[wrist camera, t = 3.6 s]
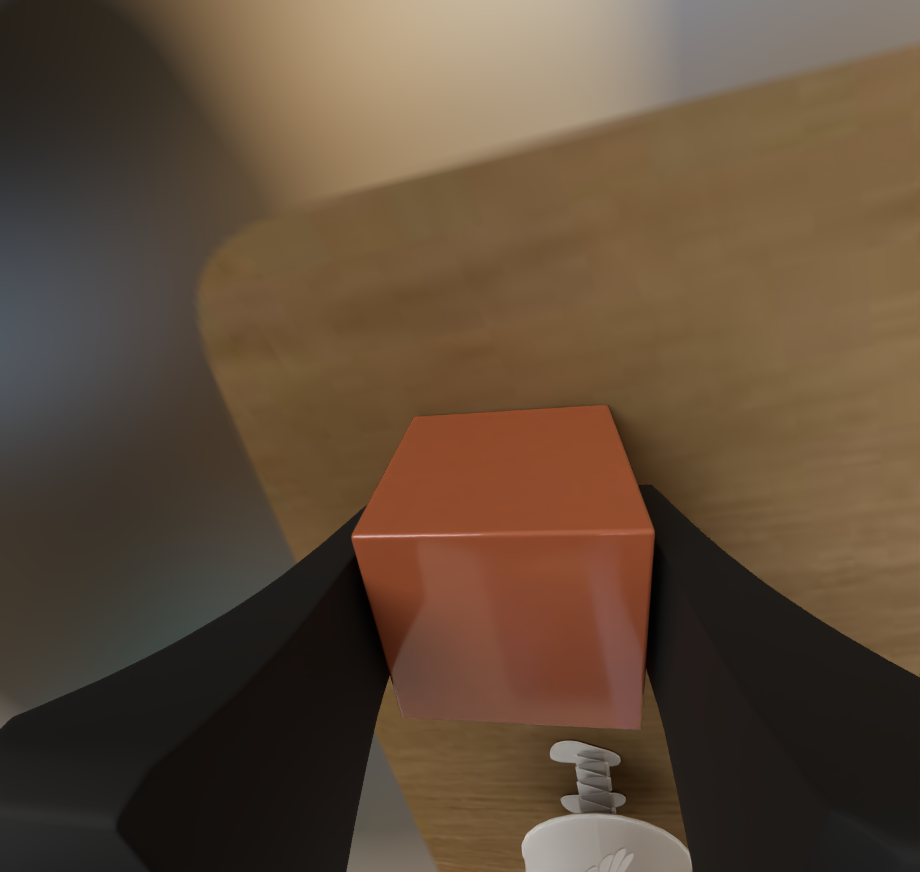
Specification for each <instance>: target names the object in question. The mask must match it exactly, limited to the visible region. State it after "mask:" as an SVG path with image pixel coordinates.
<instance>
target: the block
mask: <svg viewBox="0 0 920 872" xmlns="http://www.w3.org/2000/svg"><path fill="white" fill-rule="evenodd" d="M351 539H352V543H353V547H354V550H355V554H356V557H357V561H358V564H359V568H360V571H361V575H362V578H363V582H364V585H365V589H366V592H367V596H368V599H369V603H370V606H371V610H372V613H373V617H374V620H375V624H376V627H377V631H378V634H379V638H380V641H381V645H382V648H383V652H384V655H385V659H386V662H387V666H388V669H389V673H390V676H391V680H392V683H393V687H394V690H395V694H396V697H397V701H398V705H399V708H400V712H401V715H402V716H403V717H404V718H418V719H437V720H456V721H475V722H494V723H513V724H532V725H551V726H570V727H588V728H607V729H626V730H639V729H641V727H642V716H643V702H644V687H645V673H646V659H647V645H648V630H649V616H650V602H651V587H652V573H653V559H654V545H655V530H654V527H653V524H652V522H651V519H650V516H649V513H648V511H647V508H646V505H645V503H644V500H643V497H642V495H641V492H640V489H639V487H638V484H637V481H636V479H635V476H634V473H633V470H632V468H631V465H630V462H629V460H628V457H627V454H626V452H625V449H624V446H623V444H622V441H621V438H620V436H619V433H618V430H617V427H616V425H615V422H614V419H613V417H612V414H611V411H610V409H609V406H608V405H593V406H577V407H561V408H545V409H529V410H513V411H497V412H481V413H465V414H449V415H433V416H417V417H414V418H413V419H412V421H411V423H410V424H409V426H408V428H407V430H406V432H405V434H404V436H403V438H402V440H401V442H400V444H399V445H398V447H397V449H396V451H395V453H394V455H393V457H392V459H391V461H390V463H389V464H388V466H387V468H386V470H385V472H384V474H383V476H382V478H381V480H380V482H379V483H378V485H377V487H376V489H375V491H374V493H373V495H372V497H371V499H370V501H369V502H368V504H367V506H366V508H365V510H364V512H363V514H362V516H361V518H360V520H359V521H358V523H357V525H356V527H355V529H354V531H353V533H352V536H351Z"/></svg>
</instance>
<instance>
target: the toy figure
mask: <svg viewBox="0 0 920 872" xmlns="http://www.w3.org/2000/svg"><path fill="white" fill-rule="evenodd" d="M550 757H551V759H553V760H555V761H558V762H565V763H576V766H577V767H575V769H576V773H577V778H578V782H577V787H578V792H579V795H567V796H563V797H561V803H562V805H563V806H564V807H565V808H566V809H567V810H569V811H571V812H574V814H569V815H564V816H559V817H554V818H551V819H549V820H547V821H544V822H542V823H540V824H538V825H537V826H535V827H534V828H533V829H532V830H531V831H529V832H528V833H527V834H526V836H525V838H524V840H523V842H522V855H523V857H524V859H525V866H526V872H692V863H691V858H690V852H689V851H688V849H687V848H686V847H685V846H684V845H683V844H682V843H681V841H680V840H679V839H677V838H676V837H674V836H673V835H671V834H670V833H668V832H667V831H665V830H664V829H662V828H660V827H657V826H655V825H652V824H650V823H648V822H645V821H643V820H639V819H635V818H630V817H626V816H622V815H616V807H618V806H621V805H623V804H624V803H625V802H626V797H625V796H623V795H622V794H619V793H610V792H609V791H612V784H611V778H610V777H607V776H610V770H609V766H611V767H612V766H617V765H619V763H620V762H621V760H620V757H619V756H618V755H617V754H616V753H614V752H611V751H609V750H606V749H602V748H598V747H594V746H591V745H588V744H584V743H581V742H578V741H571V740H569V741H561V742H557V743H555V744H554V745H553V746H552V748H551V749H550Z"/></svg>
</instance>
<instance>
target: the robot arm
mask: <svg viewBox="0 0 920 872" xmlns="http://www.w3.org/2000/svg"><path fill="white" fill-rule="evenodd" d="M638 487H639V489H640V492H641V495H642V497H643V500H644V503H645V505H646V508H647V511H648V513H649V516H650V519H651V522H652V524H653V527H654V530H655V545H654V559H653V573H652V587H651V602H650V616H649V630H648V645H647V659H646V669H647V673H648V676H649V679H650V682H651V686H652V689H653V692H654V695H655V698H656V702H657V705H658V708H659V712H660V716H661V720H662V723H663V727H664V731H665V735H666V740H667V745H668V749H669V754H670V759H671V764H672V768H673V773H674V778H675V783H676V787H677V792H678V797H679V802H680V807H681V812H682V817H683V822H684V827H685V832H686V837H687V842H688V847H689V852H690V858H691V863H692V868H693V872H920V677H918V676H916V675H914V674H912V673H910V672H909V671H907V670H905V669H903V668H901V667H899V666H897V665H896V664H894V663H892V662H890V661H888V660H887V659H885V658H883V657H881V656H880V655H878V654H876V653H875V652H873V651H871V650H869V649H868V648H866V647H864V646H862V645H861V644H859V643H857V642H856V641H854V640H852V639H850V638H849V637H847V636H845V635H844V634H842V633H840V632H838V631H837V630H835V629H834V628H832V627H830V626H829V625H827V624H826V623H824V622H822V621H821V620H819V619H818V618H816V617H814V616H813V615H811V614H810V613H808V612H807V611H805V610H804V609H802V608H801V607H799V606H798V605H796V604H795V603H793V602H792V601H790V600H789V599H787V598H786V597H784V596H783V595H781V594H780V593H778V592H777V591H776V590H774V589H773V588H771V587H770V586H769V585H767V584H766V583H764V582H763V581H762V580H760V579H759V578H758V577H756V576H755V575H754V574H753V573H751V572H750V571H749V570H747V569H746V568H745V567H743V566H742V565H741V564H740V563H738V562H737V561H736V560H734V559H733V558H732V557H731V556H729V555H728V554H727V553H726V552H725V551H723V550H722V549H721V548H720V547H719V546H717V545H716V544H715V543H714V542H713V541H712V540H711V539H709V538H708V537H707V536H706V535H705V534H704V533H703V532H701V531H700V530H699V529H698V528H697V527H696V526H695V525H694V524H693V523H691V522H690V521H689V520H688V519H687V518H686V517H685V516H684V515H683V514H682V513H681V512H680V511H679V510H678V509H677V508H675V507H674V506H673V505H672V504H671V503H670V502H669V501H668V500H667V499H666V498H665V497H664V496H663V495H662V494H661V493H660V492H659V491H658V490H657V489H655V488H654V487H653V486H652V485H638ZM366 506H367V505H366ZM366 506H365V507H364V508H363V509H361V510H360V511H359V512H358V513H357V514H356V515H355V516H354V517H352V518H351V519H350V520H349V521H348V522H347V523H346V524H344V525H343V526H342V527H341V528H340V529H339V530H337V531H336V532H335V533H334V534H333V535H332V536H330V537H329V538H328V539H327V540H326V541H325V542H323V543H322V544H321V545H320V546H319V547H317V548H316V549H315V550H314V551H312V552H311V553H310V554H309V555H307V556H306V557H305V558H304V559H302V560H301V561H300V562H298V563H297V564H296V565H295V566H293V567H292V568H291V569H290V570H288V571H287V572H286V573H285V574H284V575H282V576H281V577H279V578H278V579H276V580H275V581H274V582H272V583H271V584H269V585H268V586H267V587H265V588H264V589H262V590H261V591H259V592H258V593H256V594H255V595H253V596H252V597H250V598H249V599H247V600H246V601H245V602H243V603H241V604H240V605H238V606H237V607H235V608H234V609H232V610H230V611H229V612H227V613H225V614H224V615H222V616H220V617H219V618H217V619H215V620H213V621H212V622H210V623H208V624H207V625H205V626H203V627H202V628H200V629H198V630H196V631H194V632H193V633H191V634H190V635H188V636H186V637H184V638H182V639H181V640H179V641H177V642H175V643H173V644H171V645H170V646H168V647H166V648H164V649H162V650H160V651H158V652H156V653H154V654H152V655H150V656H148V657H146V658H145V659H142V660H140V661H138V662H136V663H134V664H132V665H130V666H128V667H126V668H124V669H122V670H120V671H118V672H116V673H114V674H111V675H110V676H107V677H105V678H103V679H101V680H99V681H96V682H94V683H92V684H90V685H87V686H85V687H83V688H80V689H78V690H76V691H74V692H71V693H69V694H66V695H64V696H62V697H59V698H57V699H55V700H52V701H50V702H48V703H45V704H43V705H41V706H38V707H36V708H34V709H31V710H29V711H27V712H24V713H21V714H19V715H17V716H14V717H12V718H11V719H10V720H9V721H8V722H7V723H6V724H5V725H4V726H3V727H2V728H1V729H0V872H346V870H347V865H348V859H349V854H350V848H351V843H352V837H353V831H354V826H355V821H356V816H357V810H358V806H359V800H360V796H361V790H362V786H363V781H364V775H365V771H366V766H367V761H368V756H369V752H370V747H371V743H372V738H373V734H374V729H375V725H376V720H377V716H378V712H379V709H380V705H381V702H382V698H383V695H384V692H385V688H386V685H387V682H388V679H389V676H390V673H389V669H388V666H387V662H386V659H385V655H384V652H383V648H382V645H381V641H380V638H379V634H378V631H377V627H376V624H375V620H374V617H373V613H372V610H371V606H370V603H369V599H368V596H367V592H366V589H365V585H364V582H363V578H362V575H361V571H360V568H359V564H358V561H357V557H356V554H355V550H354V547H353V543H352V539H351V536H352V533H353V531H354V529H355V527H356V525H357V523H358V521H359V520H360V518H361V516H362V514H363V512H364V510H365V508H366Z"/></svg>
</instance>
